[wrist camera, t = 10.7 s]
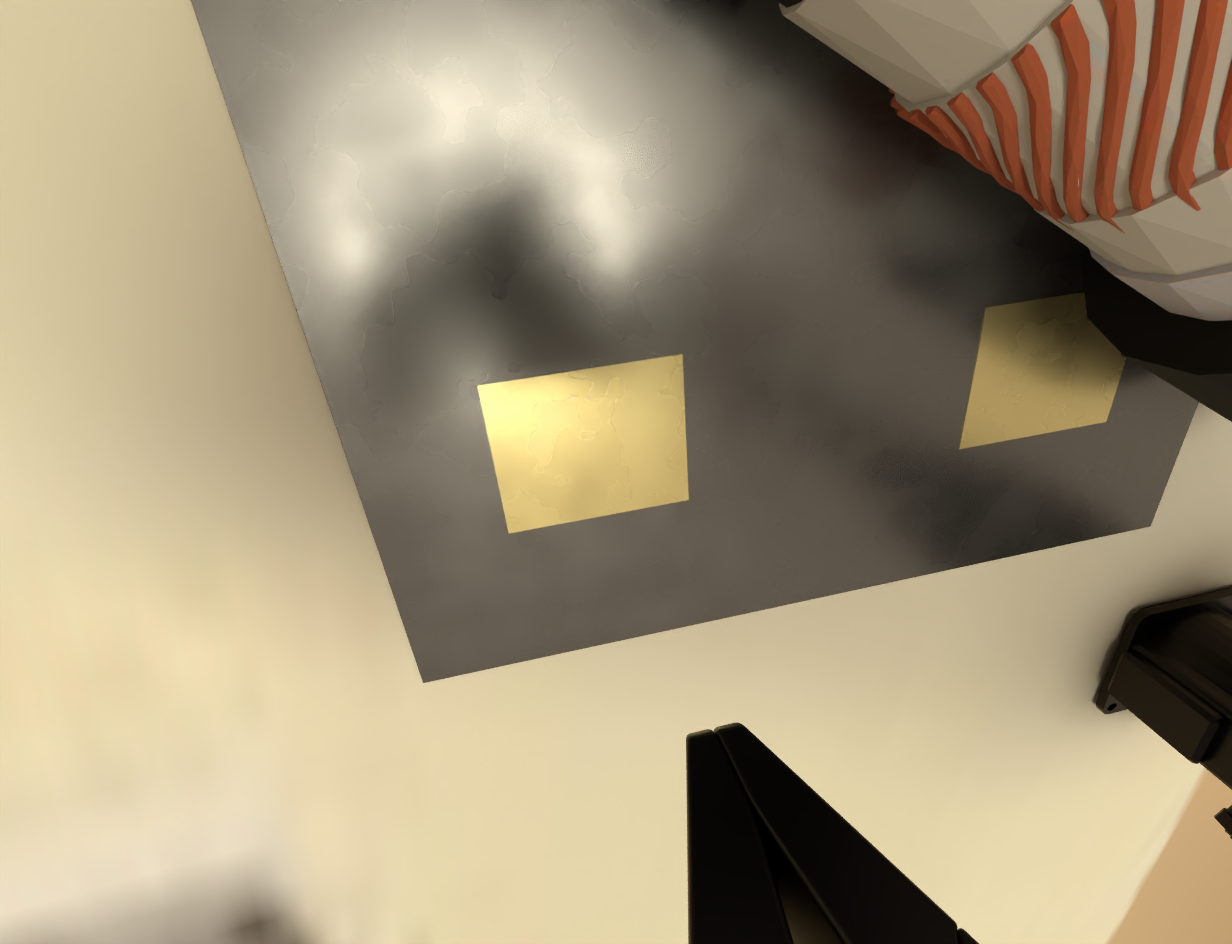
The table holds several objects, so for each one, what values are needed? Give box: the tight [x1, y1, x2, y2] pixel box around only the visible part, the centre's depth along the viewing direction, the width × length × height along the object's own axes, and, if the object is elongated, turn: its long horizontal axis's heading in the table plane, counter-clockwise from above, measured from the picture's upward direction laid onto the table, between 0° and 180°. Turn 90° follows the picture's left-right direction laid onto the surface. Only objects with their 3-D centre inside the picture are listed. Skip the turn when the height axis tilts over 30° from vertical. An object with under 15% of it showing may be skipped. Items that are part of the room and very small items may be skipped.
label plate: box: [191, 0, 1199, 683], centre depth 17 cm, size 30×26×1 cm
